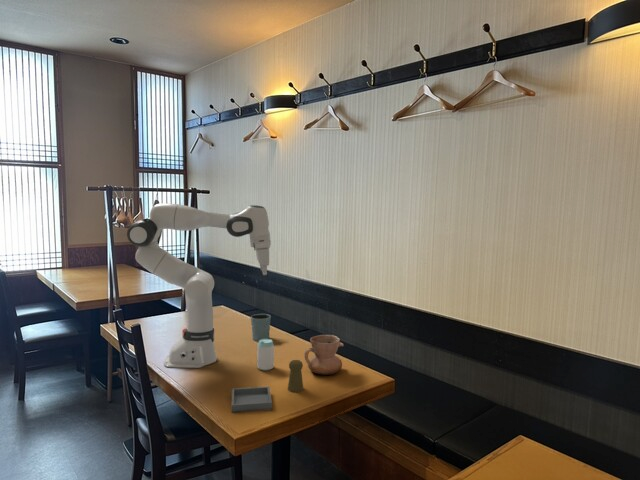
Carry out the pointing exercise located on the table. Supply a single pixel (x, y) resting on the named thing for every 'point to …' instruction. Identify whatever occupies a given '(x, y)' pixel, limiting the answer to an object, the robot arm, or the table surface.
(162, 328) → the table surface
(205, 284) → the robot arm
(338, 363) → the ceramic jug
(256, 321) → the grey teal cup
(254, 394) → the tray
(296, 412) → the table surface
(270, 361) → the can
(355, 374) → the table surface
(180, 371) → the table surface
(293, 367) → the olive tapered rounded piece
